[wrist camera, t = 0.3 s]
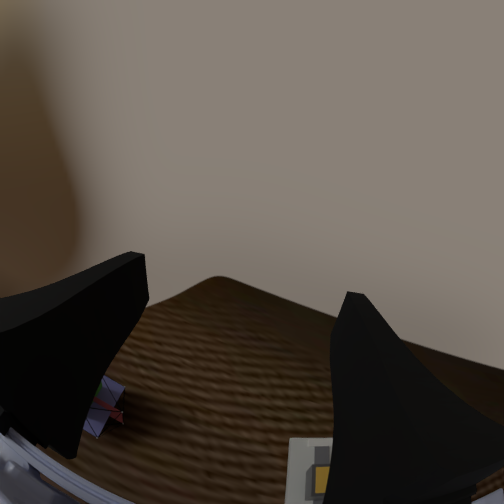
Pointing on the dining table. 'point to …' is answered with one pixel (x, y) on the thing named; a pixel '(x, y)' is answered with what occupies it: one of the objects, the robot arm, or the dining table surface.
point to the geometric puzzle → (104, 407)
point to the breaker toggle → (316, 481)
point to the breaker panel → (304, 465)
